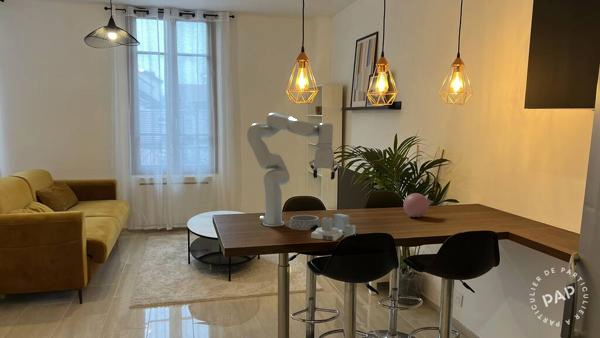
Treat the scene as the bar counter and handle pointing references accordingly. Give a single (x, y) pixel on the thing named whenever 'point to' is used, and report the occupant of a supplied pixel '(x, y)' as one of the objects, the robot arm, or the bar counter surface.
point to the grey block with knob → (327, 224)
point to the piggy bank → (416, 205)
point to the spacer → (349, 230)
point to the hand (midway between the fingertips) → (323, 178)
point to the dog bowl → (304, 222)
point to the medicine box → (341, 221)
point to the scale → (327, 234)
